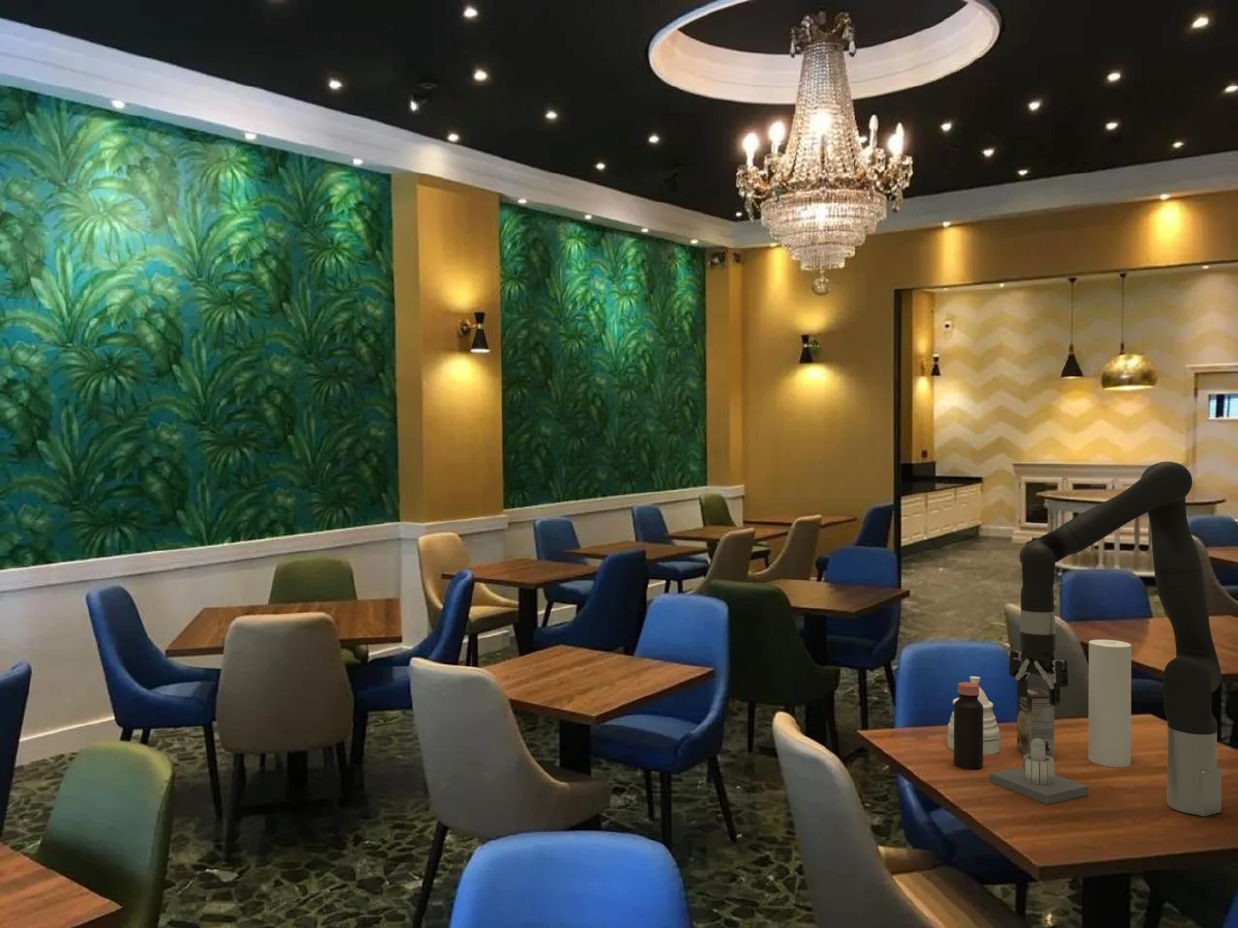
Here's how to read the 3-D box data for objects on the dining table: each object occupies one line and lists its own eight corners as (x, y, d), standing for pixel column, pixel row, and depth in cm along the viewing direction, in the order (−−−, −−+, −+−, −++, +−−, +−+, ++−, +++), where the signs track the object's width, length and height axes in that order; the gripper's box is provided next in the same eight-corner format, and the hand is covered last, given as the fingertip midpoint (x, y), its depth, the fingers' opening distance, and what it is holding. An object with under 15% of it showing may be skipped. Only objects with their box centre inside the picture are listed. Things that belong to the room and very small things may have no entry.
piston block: (1087, 795, 214) (1088, 744, 214) (1046, 804, 209) (1047, 752, 208) (1029, 773, 229) (1029, 725, 228) (989, 781, 223) (989, 732, 223)
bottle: (989, 766, 234) (989, 685, 233) (970, 771, 230) (970, 688, 230) (966, 758, 240) (966, 679, 239) (947, 763, 236) (948, 683, 236)
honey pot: (952, 737, 258) (952, 671, 258) (1003, 744, 251) (1003, 676, 251) (942, 750, 247) (942, 681, 247) (995, 758, 240) (995, 687, 240)
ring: (1059, 781, 217) (1060, 760, 217) (1040, 786, 214) (1040, 764, 214) (1036, 773, 223) (1036, 752, 223) (1016, 777, 220) (1017, 755, 220)
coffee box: (1015, 748, 248) (1015, 686, 248) (1040, 748, 248) (1040, 687, 248) (1030, 759, 239) (1030, 695, 239) (1055, 759, 239) (1056, 696, 239)
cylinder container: (1105, 752, 244) (1105, 636, 244) (1139, 763, 236) (1139, 642, 235) (1079, 758, 240) (1080, 639, 240) (1113, 769, 232) (1113, 646, 231)
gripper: (1075, 633, 213) (1076, 705, 213) (1023, 624, 226) (1024, 692, 226) (1052, 636, 210) (1053, 709, 210) (1000, 626, 223) (1001, 695, 223)
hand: (1038, 700), depth 218 cm, fingers open, 8 cm apart
